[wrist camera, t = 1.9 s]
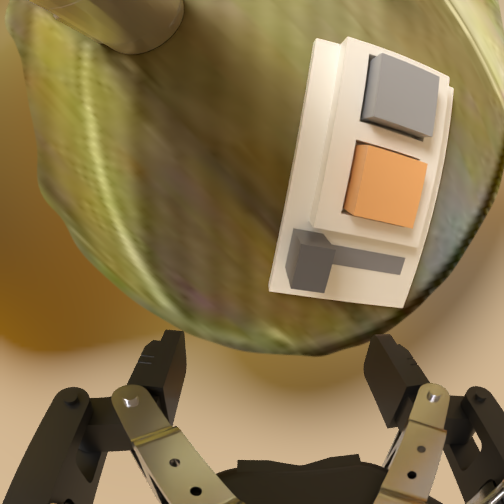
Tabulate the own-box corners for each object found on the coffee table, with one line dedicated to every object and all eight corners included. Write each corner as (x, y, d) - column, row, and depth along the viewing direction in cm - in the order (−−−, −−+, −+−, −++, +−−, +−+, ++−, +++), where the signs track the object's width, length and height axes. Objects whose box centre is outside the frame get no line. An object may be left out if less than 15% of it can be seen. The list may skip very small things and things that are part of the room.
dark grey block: (284, 266, 31) (290, 288, 26) (293, 228, 30) (301, 243, 25) (313, 271, 31) (324, 293, 26) (323, 233, 30) (336, 249, 25)
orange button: (342, 208, 28) (353, 215, 25) (356, 144, 26) (368, 144, 23) (397, 220, 28) (412, 228, 25) (411, 161, 26) (427, 163, 23)
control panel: (268, 285, 34) (270, 302, 30) (313, 42, 25) (321, 29, 22) (397, 302, 35) (411, 318, 31) (446, 89, 26) (466, 85, 23)
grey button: (360, 119, 25) (373, 116, 22) (369, 61, 23) (381, 52, 20) (415, 136, 26) (432, 137, 23) (422, 81, 24) (439, 76, 21)
